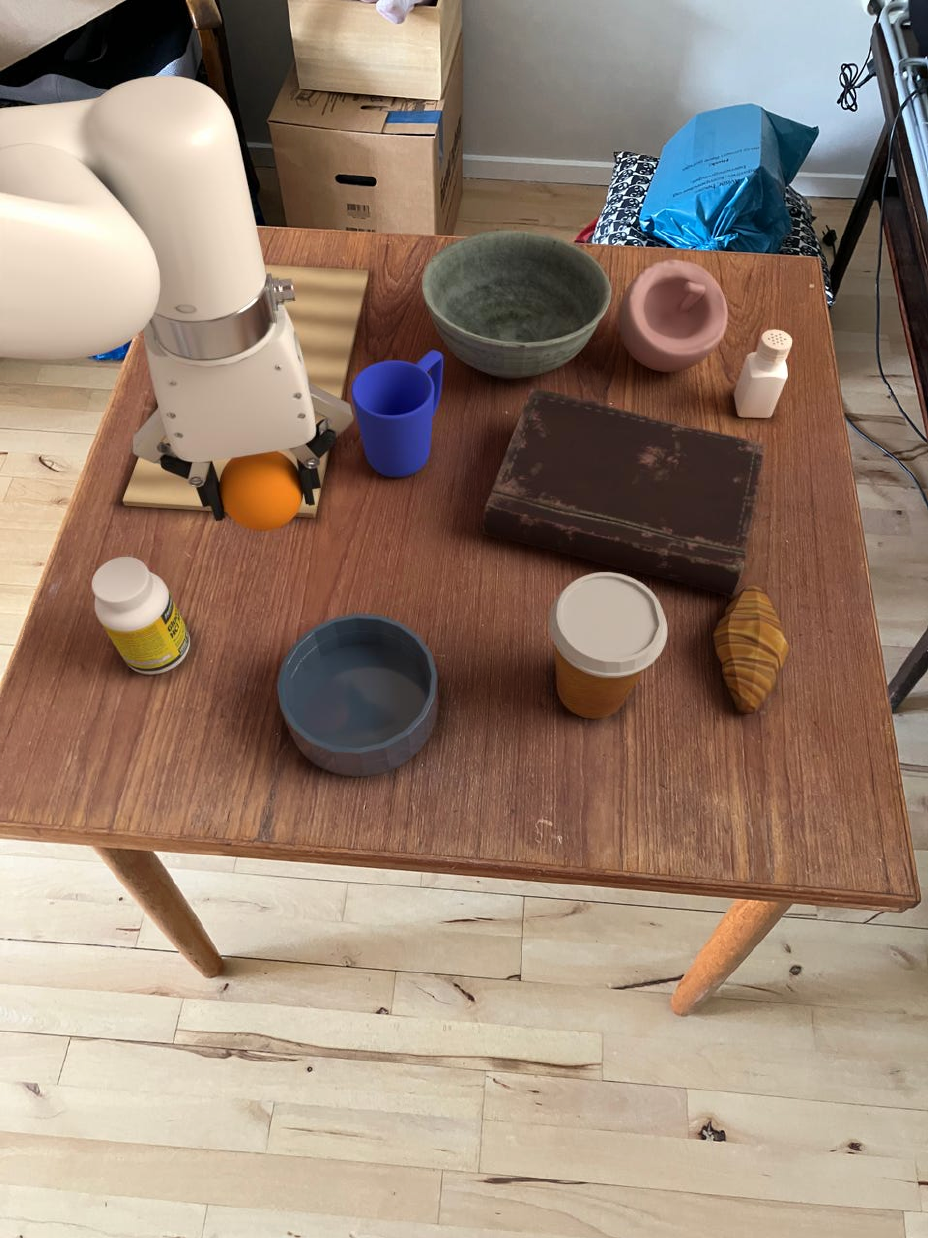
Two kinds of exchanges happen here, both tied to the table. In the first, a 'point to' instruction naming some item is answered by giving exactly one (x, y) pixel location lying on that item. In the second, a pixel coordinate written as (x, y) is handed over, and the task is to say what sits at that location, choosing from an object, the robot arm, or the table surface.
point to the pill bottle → (139, 616)
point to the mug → (398, 412)
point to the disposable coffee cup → (604, 640)
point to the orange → (261, 490)
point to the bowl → (515, 301)
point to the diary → (627, 491)
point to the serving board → (326, 347)
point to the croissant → (750, 648)
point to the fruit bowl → (359, 694)
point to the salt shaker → (763, 376)
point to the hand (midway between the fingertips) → (263, 498)
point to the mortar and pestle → (672, 315)
